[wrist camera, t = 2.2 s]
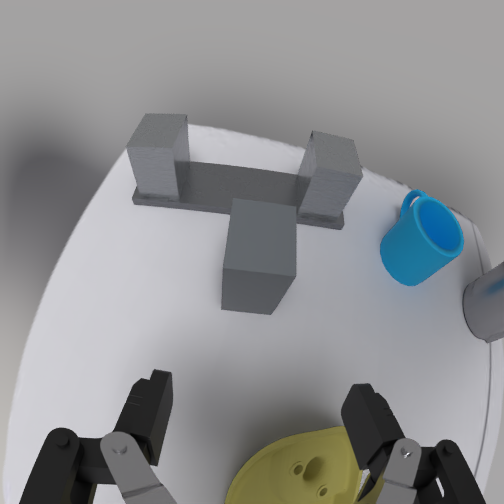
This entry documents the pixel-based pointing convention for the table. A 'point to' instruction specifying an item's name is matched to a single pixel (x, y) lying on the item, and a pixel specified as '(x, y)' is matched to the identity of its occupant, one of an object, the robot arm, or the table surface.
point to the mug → (421, 240)
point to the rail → (240, 175)
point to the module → (258, 256)
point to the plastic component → (300, 471)
